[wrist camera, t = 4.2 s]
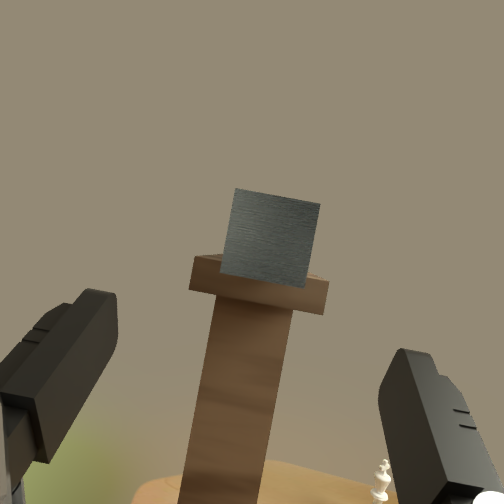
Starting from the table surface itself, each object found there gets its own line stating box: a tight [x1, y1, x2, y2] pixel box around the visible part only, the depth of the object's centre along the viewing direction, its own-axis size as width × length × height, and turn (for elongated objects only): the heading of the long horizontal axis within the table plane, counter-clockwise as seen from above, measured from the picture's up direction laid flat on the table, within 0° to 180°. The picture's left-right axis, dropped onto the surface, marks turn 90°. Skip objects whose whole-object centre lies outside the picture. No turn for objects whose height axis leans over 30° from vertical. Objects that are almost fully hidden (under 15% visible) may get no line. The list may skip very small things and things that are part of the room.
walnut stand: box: [177, 254, 329, 504], centre depth 32 cm, size 20×10×32 cm, turn 179°
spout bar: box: [220, 188, 320, 289], centre depth 24 cm, size 22×3×3 cm, turn 179°
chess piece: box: [370, 459, 391, 504], centre depth 48 cm, size 5×5×10 cm
